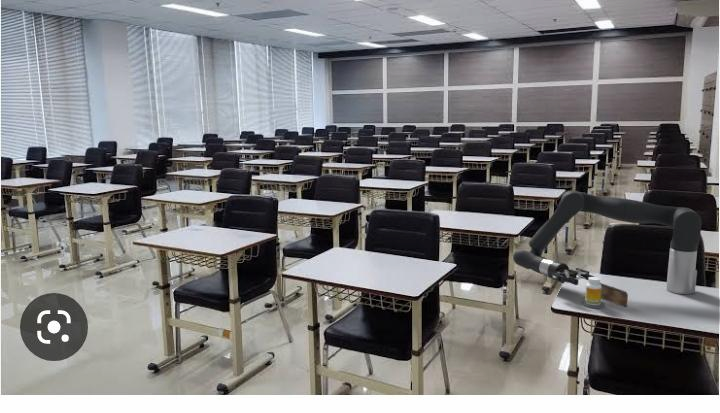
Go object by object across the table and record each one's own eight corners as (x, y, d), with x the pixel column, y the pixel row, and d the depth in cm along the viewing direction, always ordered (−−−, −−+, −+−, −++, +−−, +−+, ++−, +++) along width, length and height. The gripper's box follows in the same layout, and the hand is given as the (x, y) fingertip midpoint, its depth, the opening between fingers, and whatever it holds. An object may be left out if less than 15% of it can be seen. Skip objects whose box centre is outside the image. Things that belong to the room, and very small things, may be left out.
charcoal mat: (602, 301, 207) (603, 300, 207) (606, 309, 200) (607, 307, 200) (580, 300, 209) (580, 298, 209) (583, 307, 202) (583, 306, 201)
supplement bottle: (602, 306, 201) (603, 280, 199) (586, 305, 202) (588, 280, 201) (598, 300, 206) (600, 276, 205) (583, 300, 207) (585, 275, 206)
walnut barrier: (594, 295, 214) (595, 281, 213) (596, 295, 215) (597, 281, 214) (625, 307, 202) (626, 292, 201) (627, 306, 202) (628, 291, 201)
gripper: (541, 263, 217) (572, 274, 203) (567, 258, 223) (599, 268, 209) (540, 281, 218) (571, 293, 204) (566, 275, 224) (598, 287, 210)
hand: (585, 280), depth 206 cm, fingers open, 8 cm apart
